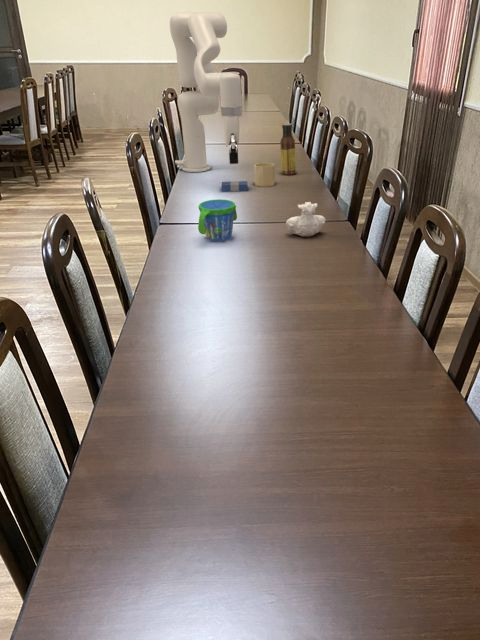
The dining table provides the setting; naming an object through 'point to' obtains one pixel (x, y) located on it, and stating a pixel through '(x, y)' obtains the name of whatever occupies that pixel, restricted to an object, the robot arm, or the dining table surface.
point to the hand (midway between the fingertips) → (234, 161)
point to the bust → (305, 221)
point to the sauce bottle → (288, 151)
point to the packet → (235, 186)
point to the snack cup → (217, 219)
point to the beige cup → (264, 174)
